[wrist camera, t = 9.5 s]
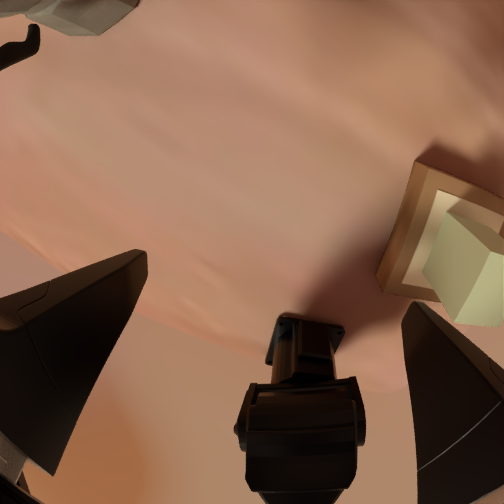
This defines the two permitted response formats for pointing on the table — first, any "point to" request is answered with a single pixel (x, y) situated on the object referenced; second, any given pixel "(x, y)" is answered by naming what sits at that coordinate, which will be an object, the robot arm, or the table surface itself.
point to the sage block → (468, 271)
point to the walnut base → (430, 227)
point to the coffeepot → (60, 21)
